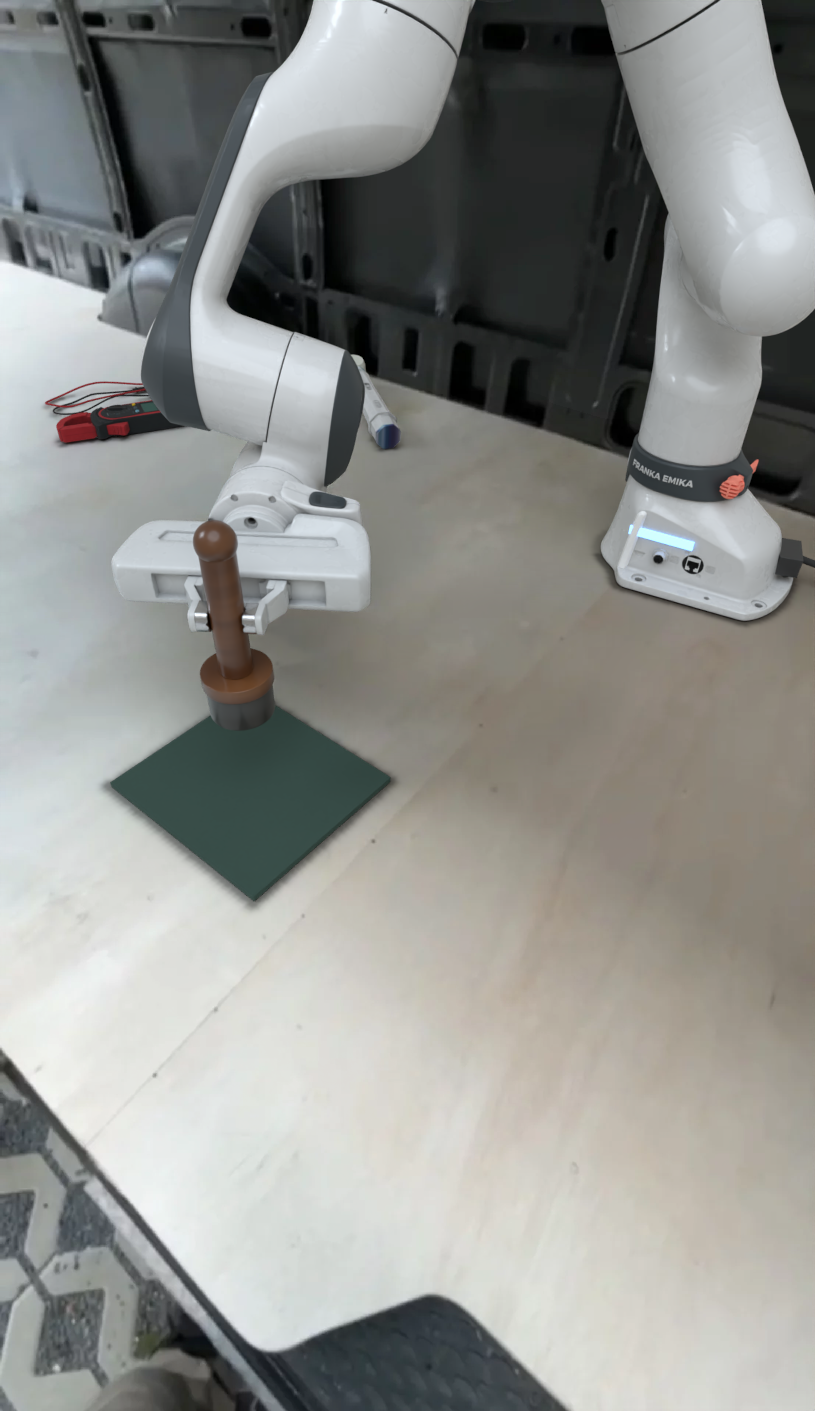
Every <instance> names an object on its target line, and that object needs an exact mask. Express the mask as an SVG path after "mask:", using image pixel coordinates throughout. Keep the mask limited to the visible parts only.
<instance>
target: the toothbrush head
mask: <svg viewBox="0 0 815 1411" xmlns="http://www.w3.org/2000/svg"><path fill="white" fill-rule="evenodd" d="M350 355H351V356H352V357H353V359H354V361H355V363H356V365H357V367H358V369H359V372H360V374H361V377H362V380H363V382H364V385H365V398H364V406H363V412H362V415H363V416H364V419H365V421H366V423H367V425H368V426H367V428H368V434H370V435H371V436H372V437H373V439H374V441H375V444H377V445H378V446H379V447H380V448H381V449H382V450H387V449H394V448H395V447H396V446H397V445H398V444H399V443H400V442H401V437H402V431H401V429H400V427H399V425H398V418H397V416H395V415H394V414H393V413H392V412H391V410H389V407H388V406H387V404H386V402H385V401H384V400H383V398H382V396H381V394H380V393H379V391H378V390H377V388H376V387H375V385H374V383H373V382H372V380H371V376H370V375H369V373H368V372H367V369H366V363H365V360H364V359H363V357H362V356H360V355H358V354H350Z"/></svg>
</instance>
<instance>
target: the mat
mask: <svg viewBox="0 0 815 1411" xmlns="http://www.w3.org/2000/svg"><path fill="white" fill-rule="evenodd" d="M391 779H392V778H391V776H390V775H388V774H387V773H385V772H383V771H382V770H380V769H378V768H377V767H375V766H373V765H372V764H370V763H369V762H368V761H365V760H364V759H362V758H361V757H359V756H358V755H356V754H354V753H353V752H351V751H350V750H348V749H346V748H345V747H343V746H341V745H340V744H338V743H337V742H335V741H334V740H332V739H330V738H329V737H327V736H325V735H324V734H322V733H320V732H319V731H317V730H316V729H314V728H313V727H311V726H309V725H308V724H307V723H305V722H303V721H301V720H300V719H298V718H297V717H295V716H294V715H292V714H290V713H288V712H287V711H285V709H282V708H281V707H280V706H278V705H277V704H275V710H274V713H273V715H272V716H271V718H270V719H269V720H268V721H267V722H265V723H264V724H262V725H260V726H258V727H256V728H253V729H250V730H243V731H234V730H228V729H225V728H222V727H220V726H219V725H217V724H216V723H215V722H214V721H213V719H212V717H211V714H210V715H209V716H207V717H206V718H205V719H203V720H201V721H200V722H198V723H197V724H195V725H194V726H192V727H191V728H189V729H188V730H186V731H184V732H183V733H182V734H180V735H179V736H177V737H176V738H175V739H172V740H171V741H170V742H168V743H167V744H165V745H164V746H163V747H161V748H159V749H157V751H155V752H154V753H152V754H150V755H149V756H148V757H146V758H144V759H142V760H141V761H140V762H138V763H137V764H135V765H134V766H132V767H131V768H129V769H128V770H127V771H125V772H123V773H122V774H120V775H119V776H117V777H116V778H114V779H112V780H111V781H110V782H109V784H110V788H112V789H114V790H115V791H116V792H117V793H118V794H120V796H122V797H123V798H124V799H126V800H127V801H128V802H130V804H132V805H133V806H135V807H136V808H137V809H139V811H141V812H142V813H143V814H144V815H146V816H148V818H150V819H151V820H152V821H153V822H155V823H156V824H157V825H158V826H159V827H161V828H162V829H163V830H164V831H166V832H167V833H168V834H169V835H171V836H172V837H173V838H174V839H176V840H177V842H179V843H181V844H182V845H183V846H184V847H185V848H186V849H188V850H189V851H191V852H192V853H193V854H194V855H196V856H197V857H198V858H199V859H200V860H202V861H203V862H204V863H206V864H207V865H208V867H210V868H212V869H213V870H214V871H215V872H217V873H218V874H219V875H220V876H222V877H223V878H224V879H225V880H227V881H228V882H229V883H230V884H231V885H233V886H234V887H235V888H236V889H238V890H239V891H240V892H242V893H243V894H244V895H245V896H247V897H248V898H249V900H251V901H253V902H255V901H256V900H258V899H259V898H260V897H261V896H262V895H263V894H265V893H266V892H267V891H268V890H269V889H270V888H271V887H272V886H273V885H275V884H276V883H277V882H278V881H279V880H280V879H281V878H283V877H284V876H285V875H286V874H287V873H289V871H291V870H292V869H293V868H294V867H295V866H296V865H298V864H299V863H300V862H301V861H302V860H303V859H304V858H305V857H307V856H308V855H309V854H310V853H311V852H313V851H314V849H316V848H317V847H318V846H319V845H320V844H321V843H323V842H324V841H325V840H326V839H327V838H329V837H330V835H332V834H333V833H334V832H335V831H337V829H338V828H339V827H341V826H343V824H344V823H345V822H347V820H348V819H350V818H352V816H353V815H354V814H356V813H357V812H358V811H359V810H360V809H361V808H363V807H364V806H365V805H366V804H367V803H368V802H369V801H371V800H372V799H373V798H374V797H375V796H376V795H377V794H378V793H380V792H381V791H382V790H383V789H384V788H385V787H386V786H388V784H390V783H391V781H392V780H391Z"/></svg>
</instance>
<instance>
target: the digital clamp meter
mask: <svg viewBox="0 0 815 1411" xmlns="http://www.w3.org/2000/svg"><path fill="white" fill-rule="evenodd" d="M97 384H112V385H113V384H115V385H129V386H130V385H131V386H135V387H134V388H131V389H127V390H116V391H103V392H94V393H90V394H86V395H85V396H82V397H80V398H78V399H76V400H74V401H71V402H68V403H63V404H61V405H60V404H54V403H51V402H52V401H55V400H57V399H60V398H62V397H64V396H66V395H69V394H71V393H73V392H75V391H77V390H80V389H82V388H85V387H88V386H93V385H97ZM137 386H140V387H137ZM142 392H147V391H146V390H145V388H144V386H143V384H142V382H124V381H123V382H122V381H107V380H106V381H105V380H103V381H94V382H93V381H92V382H88V383H85V384H83V385H79V386H77V387H75V388H72V389H70V390H68V391H66V392H64V393H61V394H59V395H57V396H54V397H52V398H50V399H48V400H45V402H44V404H45V405H46V406H51V407H54V408H53V409H52V413H53V414H55V415H59V416H65V417H63V418H61V419H60V420H59V421H58V422H57V423H56V425H55V427H56V431H57V434H58V438H59V441H60V442H61V443H66V444H67V443H72V442H73V443H74V442H80V441H86V440H92V439H95V438H97V439H98V440H107V439H108V438H111V437H122V436H129V435H135V434H143V433H149V432H154V431H162V430H166V429H174V428H179V427H184V426H183V425H178V424H174V423H170V422H169V421H168V420H167V419H166V418H165V416H164V415H163V414H162V413H161V412H160V410H159V409H158V408H157V407H156V405H155V404H154V402H153V401H152V400H151V399H149V400H143V401H136V402H130V403H124V404H113V405H109V406H105V407H102V406H100V407H97V406H99V405H101V404H103V403H105V402H107V401H109V400H112V399H115V398H118V397H140V398H141V397H150V396H149V395H148V394H138V393H142ZM133 393H136V394H133ZM97 395H105V396H100V397H95V398H92V399H87V400H85V399H86V398H90V397H93V396H97ZM82 400H84V401H82ZM99 400H100V402H98V403H95V404H94V405H92V406H91V407H89V408H86V409H83V410H80V411H77V412H76V411H75V412H62V413H61V412H57V411H56V410H57V409H60V408H63V409H65V408H67V409H70V408H75V407H78V406H82V405H84V404H87V403H91V402H94V401H99ZM80 401H82V402H80ZM78 402H79V403H78ZM96 407H97V408H96ZM94 408H95V409H94ZM92 409H94V410H92ZM90 410H92V411H91V412H89V411H90Z"/></svg>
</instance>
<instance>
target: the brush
mask: <svg viewBox="0 0 815 1411" xmlns="http://www.w3.org/2000/svg"><path fill="white" fill-rule="evenodd" d="M193 547H194V550H195V552H196V554H197V555H198V558H199V563H200V569H201V574H202V580H203V585H204V591H205V596H206V601H207V607H208V612H209V618H210V623H211V628H212V631H211V634H212V638H213V644H214V649H215V653H213V654H212V655H210V656H209V657H208V658H206V659H205V661H204V662H202V664H201V666H200V670H199V678H200V682H201V683H200V684H201V688H202V691H203V692H204V694H205V695H206V699H207V703H208V710H209V714H210V715H211V717H212V719H213V721H214V722H215V723H216V724H217V725H219V726H220V727H222V728H225V729H228V730H234V731H243V730H250V729H253V728H256V727H258V726H260V725H262V724H264V723H265V722H267V721H268V720H269V719H270V718H271V716H272V715H273V713H274V710H275V705H276V702H275V692H274V686H273V684H274V682H275V672H274V665H273V661H272V660H271V658H270V657H269V655H267V654H266V652H265V653H264V652H263V651H261V650H259V649H257V648H253V647H251V642H250V634H244V632H243V628H244V625H243V624H242V613H243V611H245V607H244V600H243V593H242V586H241V580H240V573H239V566H238V559H237V552H236V551H237V548H238V539H237V536H236V533H235V532H234V530H233V529H232V528H231V527H230V526H229V525H228V524H226V523H225V522H222V521H219V520H210V521H208V520H207V521H205V522H204V523H202V524H201V525H200V526H199V527H198V528H197V529H196V531H195V533H194V536H193Z"/></svg>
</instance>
